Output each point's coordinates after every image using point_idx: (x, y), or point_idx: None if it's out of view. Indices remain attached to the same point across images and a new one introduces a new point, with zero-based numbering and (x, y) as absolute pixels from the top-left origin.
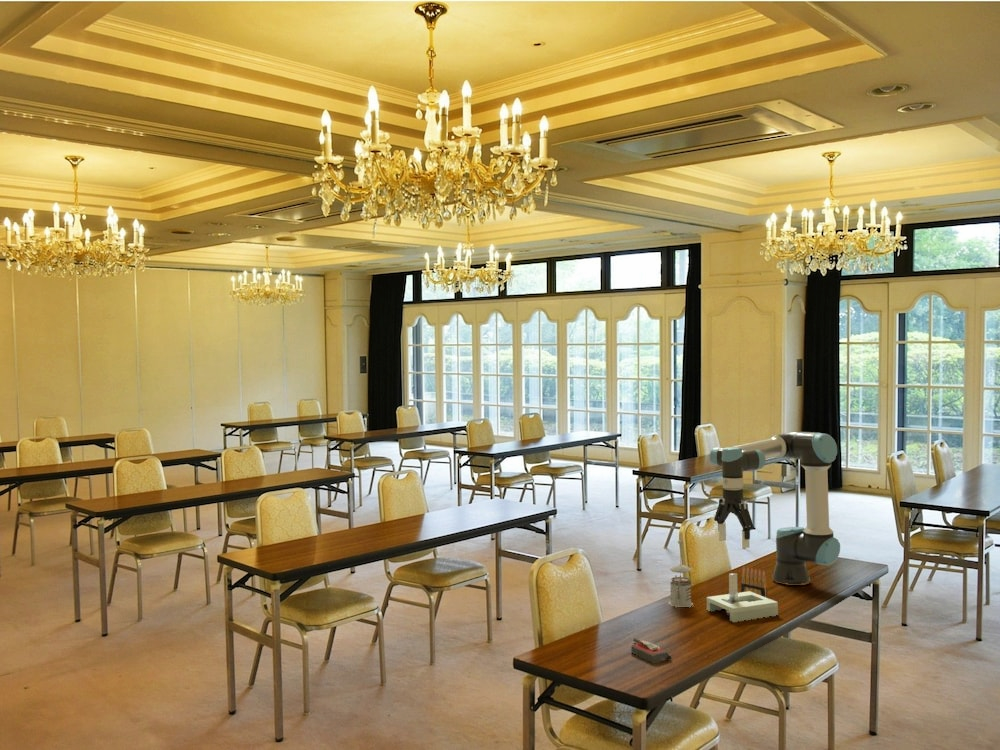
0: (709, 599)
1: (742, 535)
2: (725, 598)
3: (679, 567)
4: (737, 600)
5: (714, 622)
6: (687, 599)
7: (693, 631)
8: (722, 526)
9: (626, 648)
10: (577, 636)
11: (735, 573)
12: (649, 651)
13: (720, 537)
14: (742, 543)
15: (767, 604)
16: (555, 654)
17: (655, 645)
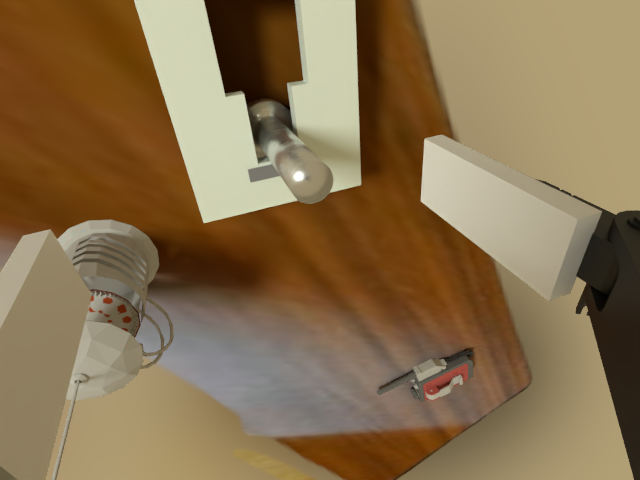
0: (222, 216)
1: (509, 262)
2: (237, 158)
3: (110, 380)
4: (288, 128)
5: (324, 220)
6: (81, 240)
7: (366, 287)
8: (25, 424)
9: (395, 398)
10: (316, 456)
11: (303, 165)
12: (458, 383)
13: (84, 320)
14: (448, 219)
15: (353, 10)
16: (376, 467)
17: (430, 371)
